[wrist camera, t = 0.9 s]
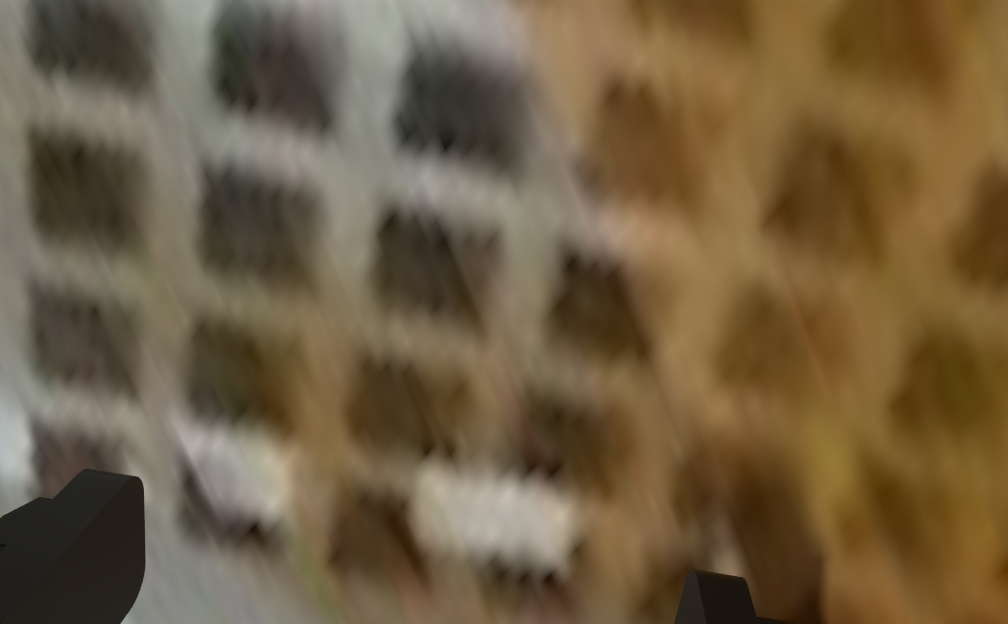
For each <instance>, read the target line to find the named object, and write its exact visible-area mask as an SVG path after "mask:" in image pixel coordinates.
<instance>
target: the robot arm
mask: <svg viewBox="0 0 1008 624" xmlns="http://www.w3.org/2000/svg"><path fill="white" fill-rule="evenodd" d="M144 572H145V517H144V487H143V483H142V481H141V479H140V478H139V477H136V476H130V475H124V474H118V473H111V472H105V471H99V470H93V469H84V470H83V471H81V472H80V473H79V474H77V475H76V476H75V477H74V478H73V479H72V480H71V481H70V482H69V483H68V484H67V485H66V486H65V487H64V488H63V489H62V490H61V491H60V492H59V493H58V494H57V495H56V496H55V497H54V498H53V499H49V498H43V497H39V498H37V499H35V500H33V501H31V502H29V503H27V504H25V505H23V506H21V507H19V508H17V509H15V510H13V511H11V512H9V513H8V514H6V515H4V516H2V517H1V518H0V624H120V623H121V622H122V621H123V619H124V618H125V616H126V615H127V614H128V612H129V611H130V609H131V608H132V606H133V604H134V602H135V601H136V598H137V596H138V594H139V591H140V588H141V585H142V582H143V577H144ZM674 624H781V622H780V621H779V620H773V619H767V618H761V617H756V614H755V610H754V607H753V603H752V599H751V596H750V592H749V589H748V585H747V582H746V580H745V579H744V578H743V577H737V576H731V575H725V574H719V573H713V572H707V571H701V570H694V569H692V570H690V572H689V573H688V576H687V578H686V581H685V585H684V589H683V593H682V596H681V600H680V604H679V608H678V612H677V615H676V619H675V623H674Z"/></svg>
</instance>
